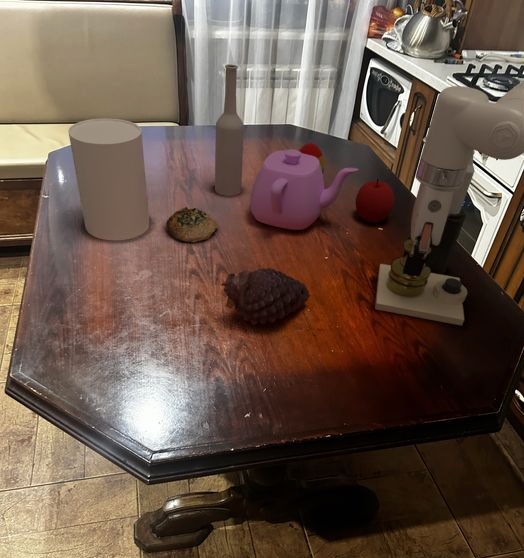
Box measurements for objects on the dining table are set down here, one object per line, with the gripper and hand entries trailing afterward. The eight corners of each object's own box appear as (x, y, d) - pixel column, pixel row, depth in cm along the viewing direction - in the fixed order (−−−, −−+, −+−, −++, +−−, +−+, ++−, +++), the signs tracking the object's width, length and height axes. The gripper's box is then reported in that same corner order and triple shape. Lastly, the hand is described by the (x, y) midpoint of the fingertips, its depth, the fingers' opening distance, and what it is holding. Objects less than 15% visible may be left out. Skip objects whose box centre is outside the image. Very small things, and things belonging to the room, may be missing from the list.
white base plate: (459, 284, 104) (464, 271, 102) (464, 326, 94) (470, 313, 92) (378, 269, 106) (382, 256, 104) (374, 309, 96) (378, 296, 94)
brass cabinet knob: (428, 299, 97) (444, 253, 90) (389, 296, 97) (402, 250, 90) (420, 276, 102) (434, 232, 95) (383, 274, 102) (395, 229, 95)
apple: (396, 227, 120) (407, 186, 113) (360, 228, 118) (369, 187, 111) (381, 208, 127) (391, 168, 120) (347, 209, 125) (354, 169, 118)
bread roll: (166, 216, 115) (168, 196, 112) (215, 223, 118) (218, 203, 114) (164, 244, 108) (166, 223, 104) (216, 250, 110) (220, 230, 107)
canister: (145, 207, 118) (137, 117, 105) (153, 237, 109) (145, 142, 95) (83, 211, 115) (67, 119, 101) (87, 243, 105) (69, 145, 92)
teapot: (234, 232, 113) (237, 165, 103) (263, 193, 128) (268, 131, 118) (335, 255, 109) (348, 188, 99) (352, 212, 124) (365, 150, 114)
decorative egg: (292, 173, 138) (297, 136, 131) (322, 177, 137) (328, 140, 131) (289, 186, 132) (293, 147, 125) (320, 190, 131) (326, 152, 125)
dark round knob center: (458, 287, 98) (461, 279, 97) (459, 296, 96) (462, 288, 95) (442, 284, 99) (445, 276, 98) (443, 293, 97) (445, 285, 95)
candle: (415, 270, 107) (454, 150, 90) (424, 259, 110) (463, 142, 93) (438, 279, 105) (482, 158, 88) (447, 268, 108) (491, 150, 91)
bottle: (244, 194, 127) (250, 69, 108) (218, 197, 125) (220, 70, 106) (236, 183, 131) (241, 61, 112) (211, 185, 129) (212, 61, 110)
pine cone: (289, 285, 99) (318, 260, 91) (300, 333, 96) (331, 311, 88) (206, 280, 90) (230, 252, 82) (215, 333, 87) (241, 309, 79)
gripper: (468, 197, 77) (432, 295, 89) (460, 155, 90) (430, 246, 102) (417, 189, 78) (389, 287, 90) (417, 149, 90) (392, 240, 103)
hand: (411, 264), depth 96 cm, fingers closed on brass cabinet knob, 5 cm apart
